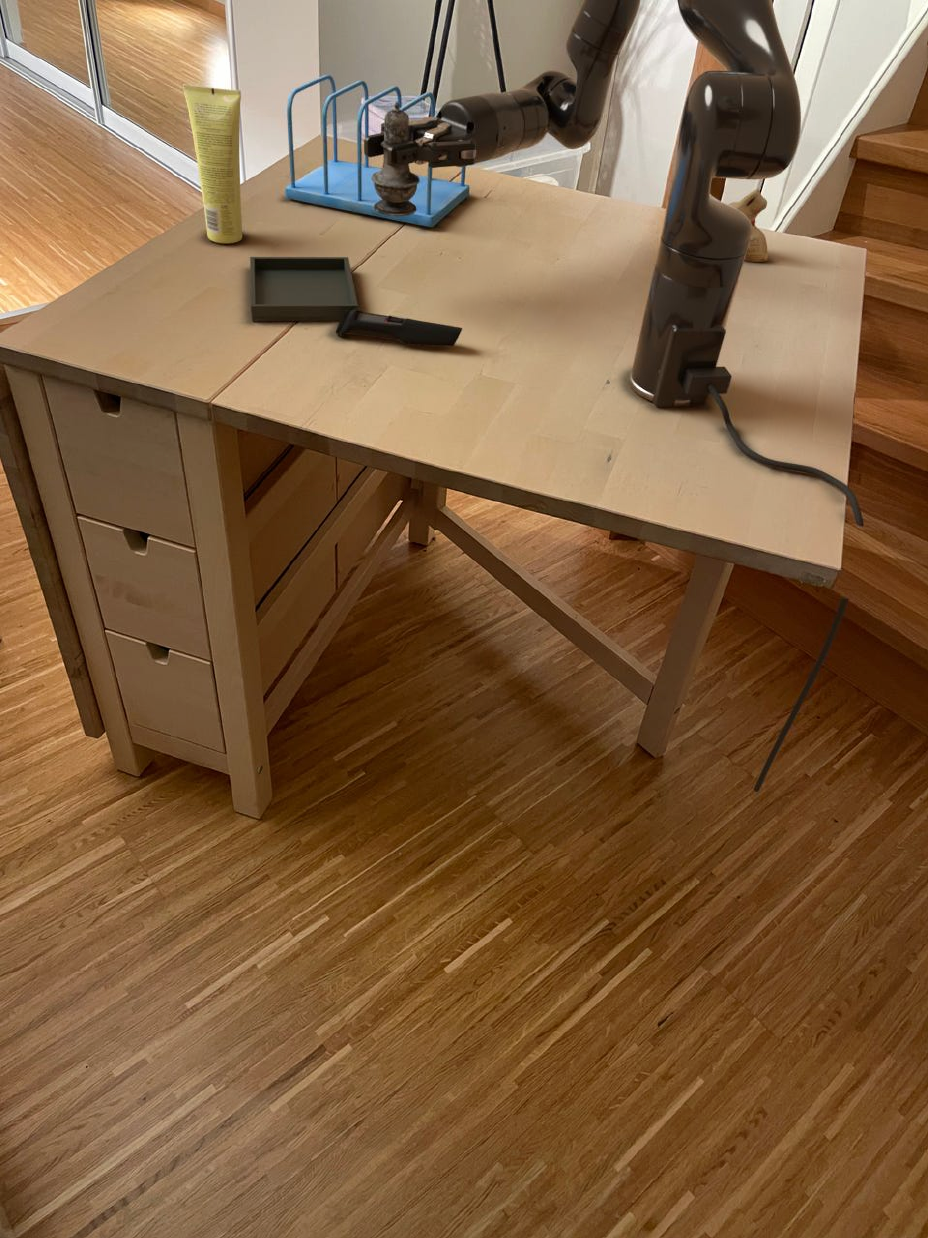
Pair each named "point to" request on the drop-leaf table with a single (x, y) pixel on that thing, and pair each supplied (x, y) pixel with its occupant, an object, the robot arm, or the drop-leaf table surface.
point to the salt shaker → (395, 170)
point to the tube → (217, 157)
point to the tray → (301, 288)
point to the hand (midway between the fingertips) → (378, 152)
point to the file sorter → (367, 170)
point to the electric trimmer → (397, 329)
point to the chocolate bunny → (751, 209)
